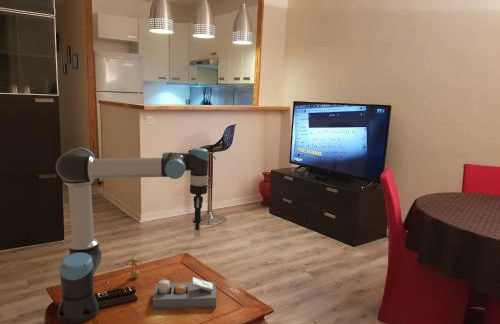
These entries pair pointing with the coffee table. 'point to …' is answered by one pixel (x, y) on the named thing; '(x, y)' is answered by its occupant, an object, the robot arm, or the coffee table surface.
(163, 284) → the button left
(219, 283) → the coffee table surface
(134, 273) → the figurine
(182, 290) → the button right
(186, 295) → the grey slotted block
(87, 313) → the robot arm
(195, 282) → the block
